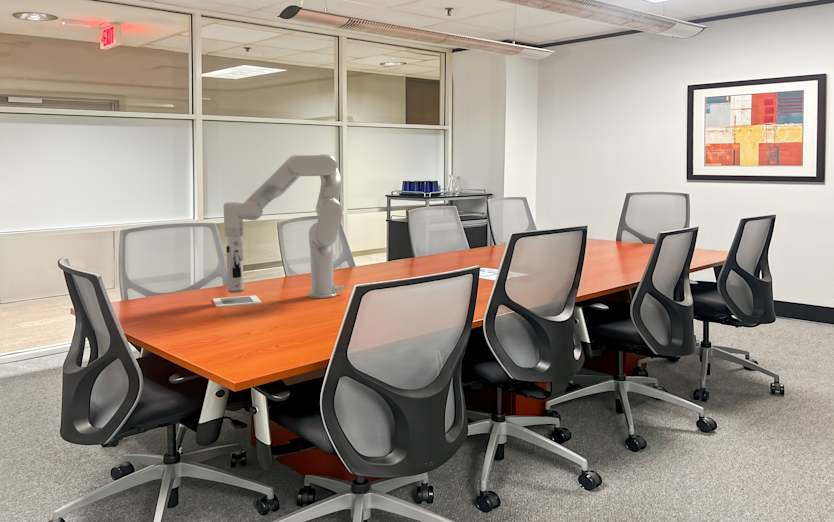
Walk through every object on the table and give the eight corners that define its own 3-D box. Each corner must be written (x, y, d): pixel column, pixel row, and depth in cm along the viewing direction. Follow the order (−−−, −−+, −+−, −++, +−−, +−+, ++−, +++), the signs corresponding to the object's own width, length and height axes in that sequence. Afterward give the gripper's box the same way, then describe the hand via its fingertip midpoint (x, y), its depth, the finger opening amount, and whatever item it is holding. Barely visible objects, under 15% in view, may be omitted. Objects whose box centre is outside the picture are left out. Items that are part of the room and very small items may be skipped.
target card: (255, 296, 311) (255, 295, 311) (262, 303, 297) (262, 302, 296) (212, 300, 305) (212, 298, 305) (216, 307, 290) (216, 305, 290)
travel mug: (240, 293, 296) (238, 244, 293) (225, 292, 298) (223, 244, 295) (247, 290, 302) (245, 242, 299) (232, 289, 304) (230, 242, 301)
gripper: (246, 234, 290) (248, 278, 293) (240, 230, 306) (242, 272, 308) (227, 235, 287) (229, 280, 290) (222, 231, 303) (224, 273, 306)
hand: (235, 275), depth 299 cm, fingers closed on travel mug, 6 cm apart
